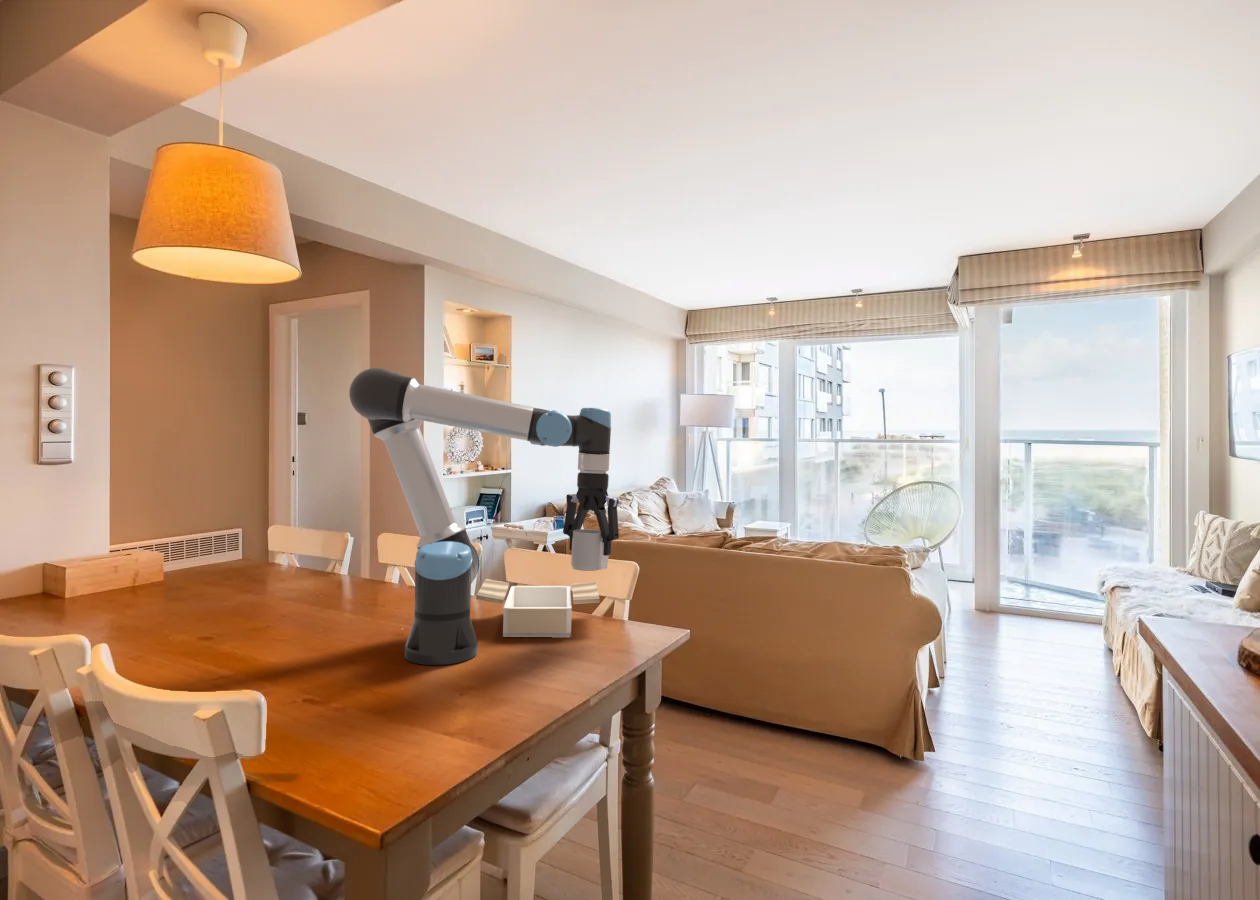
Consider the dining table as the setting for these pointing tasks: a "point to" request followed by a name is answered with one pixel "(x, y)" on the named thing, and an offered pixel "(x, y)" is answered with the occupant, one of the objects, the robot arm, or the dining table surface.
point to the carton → (538, 611)
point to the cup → (586, 549)
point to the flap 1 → (493, 591)
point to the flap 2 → (585, 593)
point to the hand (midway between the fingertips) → (589, 566)
